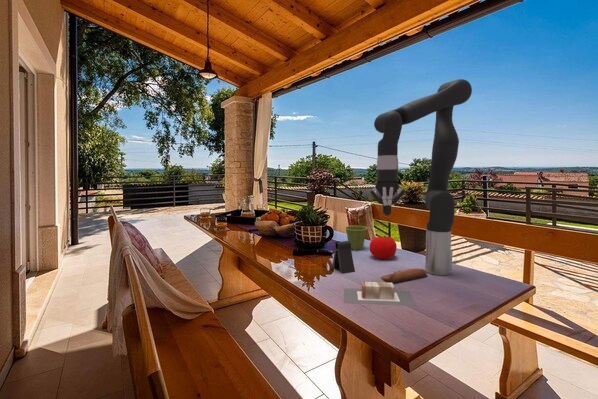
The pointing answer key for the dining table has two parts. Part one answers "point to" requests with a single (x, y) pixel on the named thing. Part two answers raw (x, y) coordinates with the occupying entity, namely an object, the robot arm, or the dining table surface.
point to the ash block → (378, 290)
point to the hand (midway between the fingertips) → (386, 215)
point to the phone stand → (343, 257)
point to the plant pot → (356, 236)
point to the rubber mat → (399, 299)
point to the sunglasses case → (404, 276)
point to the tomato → (383, 247)
